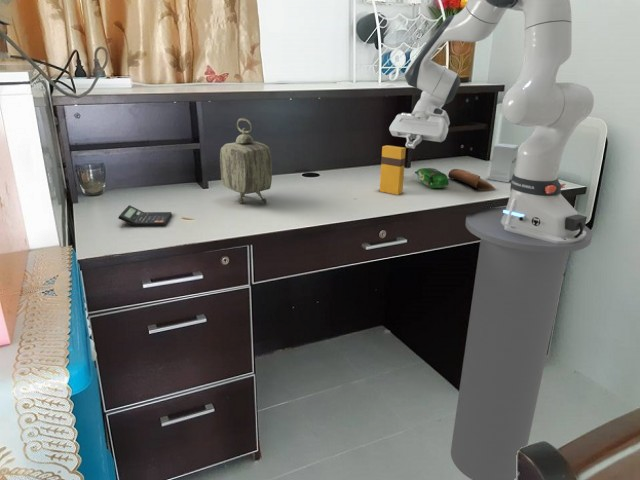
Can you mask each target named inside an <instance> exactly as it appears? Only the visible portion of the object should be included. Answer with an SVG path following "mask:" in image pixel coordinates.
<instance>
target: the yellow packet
mask: <svg viewBox="0 0 640 480" xmlns="http://www.w3.org/2000/svg"><path fill="white" fill-rule="evenodd" d="M406 149H407V148H406V147H402V146H396V145H389V144H388V145H387V144H386V145H383V146H382V147H381V157H380V158H381V159H380V178H379V179H380V180H379V192H381V193H387V194H391V195H401V194H403V191H404V190H403V189H404V177H405V165H406V154H407V153H406V151H407V150H406Z"/></svg>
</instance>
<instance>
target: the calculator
mask: <svg viewBox="0 0 640 480" xmlns="http://www.w3.org/2000/svg"><path fill="white" fill-rule="evenodd" d="M172 214H173V213H172V211H146V212H145V211H143V210H140V209H138V208H136V207H134V206H132V205H130V204H129V205H128V206H126V208H125V209H124V210H123V211H122V212H121V213H120V214H119V215H118V217H117V219H118V220H120V221H123V222H125V223H126V224H130V225H131V226H134V227H165V226H166V225H167V223H168V222H169V220H170V219H171V217H172Z"/></svg>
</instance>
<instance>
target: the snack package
mask: <svg viewBox="0 0 640 480" xmlns="http://www.w3.org/2000/svg"><path fill="white" fill-rule="evenodd" d="M414 173H415V174H416V175H417V178H418V180H419V181H420V182H421V183H422V184H424V185H425V186H427V187H428V188H431V189H443V188H445V187H446V186H448V185H449V179H448V178H449V177H448V175H447V174H445V173H444V172H442V171H440V170H439V169H437V168H434V167H422V168H419V169H417V170H416V171H414Z"/></svg>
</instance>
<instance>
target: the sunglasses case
mask: <svg viewBox="0 0 640 480" xmlns="http://www.w3.org/2000/svg"><path fill="white" fill-rule="evenodd" d="M447 178H449V179H452V180H458V181H459V182H461V183H465V184H466V185H468V186H471V187H473V188H474V189H476V190H477V192H481V191H482V192H487V191H493V190H495V189H496V188H495V186H493V185H492V184H491V183H490V182H488V181H486V180H485V179H482V178H481V176H480V175H478V174H475V173H473V172H470V171H467V170H464V169H460V168H453V169H450V171H449V172H448V173H447Z"/></svg>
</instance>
